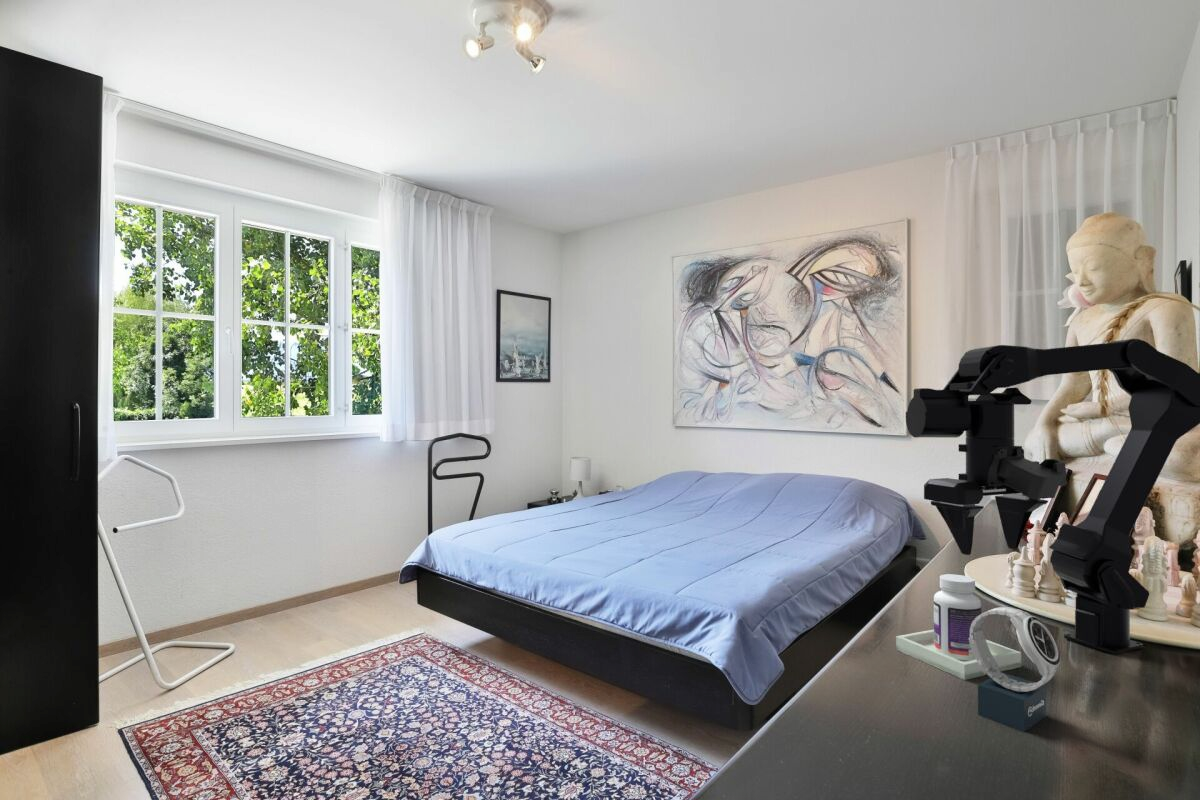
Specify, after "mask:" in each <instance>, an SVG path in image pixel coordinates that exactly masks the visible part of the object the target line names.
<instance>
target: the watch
mask: <svg viewBox="0 0 1200 800" xmlns="http://www.w3.org/2000/svg"><path fill="white" fill-rule="evenodd" d="M989 615H1001V616H1007V617H1009V620H1010V622H1011V623H1012V625H1013V626H1014V627H1015V629H1016V635H1017V640H1018V642H1019V644H1020V647H1021V648H1022V650H1023V652H1024V654H1025V656H1027V657H1028V658H1029V659H1030V661H1031V662H1032V663H1033V664H1034V665H1036V667H1037V670H1038V672H1039V674H1040V676H1042V677H1041V679H1040V680H1039V681H1037V682H1034V681H1032V680H1031V681H1030V680H1027V679H1025V678H1021V677H1017V676H1015V675H1011V674H1008V673H1005V672H1003V671H1000V670H999V669H998V668H997V666H998V664H997V663H996V661H995V659H994V658H993V656H992V654H991V652H990V650H989V648H988V645H987V642H986V640H987V639H986V637H985V636H984V633H983V629H981V626H982V625H981V624H983V623H984V621H985V620H986V618H988V616H989ZM969 642H970V646H971V649H972V651H973V654H974V656H975V658H976V660H977V662H978V664H979V666H980V667H981V669H982V671H983V672H984V674H986V675H985V676H988V677H989V678H988V679H986V680H984V681H983V682H980V683H978V685H977V715H979V716H980V717H984V718H987V719H989V720H991V721H994V722H997V723H999V724H1002V725H1004V726H1008V727H1011V728H1014V729H1016V730H1019V731H1021V732H1026V731H1027V730H1029V729H1030V728H1032V726H1034V725H1035V724H1037V723H1039V722H1040V721H1041V720H1043V719H1044V718H1046V717H1047V686H1046V685H1045V684H1047V683H1048V682H1049V681H1050V680H1051V679H1052V678H1053V677H1054V676H1055V674H1056V672H1057V670H1058V667H1059V664H1061V653H1060V649H1059V646H1058V643H1057V641H1056V639H1055V637H1054V635H1053V634H1052V632H1051V630H1050V629H1049V627H1048V626H1047V625H1046V624H1045V623H1044V622H1043V621H1042V620H1041V619H1039V618H1038V617H1036V616H1034V615H1031V614H1029V613H1028V612H1027V611H1023V610H1022V609H1018V608H1015V607H1011V606H1010V607H1009V606H999V607H995V608H992V609H989V610H987V611H985V612H981V615H979V616H977V617H976V618H975V620H974V621H973V622H972V624H971V627H970V637H969Z"/></svg>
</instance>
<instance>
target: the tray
mask: <svg viewBox="0 0 1200 800" xmlns="http://www.w3.org/2000/svg"><path fill="white" fill-rule="evenodd" d="M986 642H987V645H988V648H989V650H990V652H991V654H992V656H993V658H994V659H995V661H996V663H997V664H998V666H997V668H998V669H999V670H1000V671H1001V672H1006V671H1010V670H1014V669H1017V668H1021V667H1022V652H1021V651H1018V650H1015V649H1012V648H1010V647H1008V646H1004V645H1002V644H999V643H997V642H994V641H991V640H988V639H986ZM895 651H897V652H900V653H902V654H904V655H907V656H909V657H911V658H913V659H916V660H918V661H920V662H922V663H925V664H928V665H930V666H931V667H934V668H935V669H936V668H937V669H938V670H941V671H943V672H945V673H947V674H950V675H951V676H954V677H956V678H959V679H960V680H962V681H963V680H964V681H966V680H970V679H974V678H975V679H976V678H979V677H984V676H987V675H986V674H984V672H983V671H982V669H981V667H980V666H979V664H978V662H977V660H971V661H964V660H957V659H955V658H952V657H950V656H947V655H945V654H942V653H940V652H938V651H936V650H935V647H934V628H933V629H929V630H923V631H918V632H913V633H907V634H902V635H896V636H895Z"/></svg>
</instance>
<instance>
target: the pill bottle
mask: <svg viewBox="0 0 1200 800" xmlns="http://www.w3.org/2000/svg"><path fill="white" fill-rule="evenodd" d="M939 588H941V590H938V591H937V592H936V593H935V594H934V596H933V629H934V647H935V650H936V651H938V652H940V653H942V654H945V655H947V656H950V657H952V658H955V659H957V660H964V661H971V660H976V658H975V656H974V654H973V651H972V649H971V646H970V642H969V637H970V627H971V624H972V622H973V621H974V620H975V618H976V617H977V616H979V615H981V614H982V601H981V600H980V598H979V597H978V596H977V595H975V594H973V593H974V592H975V591H976V580H975V579H974V578H973V577H970V576H967V575H963V574H952V573H947V574H946V573H944V574H941V575H940V576H939ZM982 624H983V623H982ZM982 624H981V625H982ZM981 629H982V626H981ZM982 630H983V629H982Z"/></svg>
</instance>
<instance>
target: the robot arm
mask: <svg viewBox="0 0 1200 800" xmlns="http://www.w3.org/2000/svg"><path fill="white" fill-rule="evenodd" d="M1102 370H1108V371H1110V372H1111V373H1112V375H1113V377H1114V379H1115V380H1116V381H1115V382H1117V384H1118V387H1119V388H1120V389H1122V390H1123V391H1124V392H1125V393H1126V394H1128V395H1129V396H1130V397H1131V398H1130V401H1129V405H1128V414H1129V418H1130V424H1131V427H1130V431H1129V432H1128V434H1127V436H1126V438H1125V440H1124V442H1123V443H1122V446H1121V447H1120V450H1119V452H1118V454H1117V455H1116V458H1115V460H1114V462H1113V464H1112V466H1111V468H1110V470H1109V472H1108V473H1107V476H1106V478H1105V480H1104V482H1103V485H1102V487H1100V488H1101V489H1100V490H1099V492H1098V494H1097V497H1096V499H1095V500H1094V502H1093V505H1092V506H1091V508H1090V509H1089V513H1088V515H1087V516H1086V518H1084V519H1083V520H1082V521H1080V522H1079V523H1078V524H1076V525H1073V524H1070V523H1067V522H1066V523H1063V524H1061V525H1060V527H1059V530H1058V532H1057V533H1058V534H1057V536H1056V539H1055V540H1054V542H1053V543H1052V544H1050V546H1049V547H1048V548H1049V549H1050V550H1052V551H1051V555H1050V557H1049V558H1050V559H1049V561H1050V562H1049V563H1050V564H1051V565H1052V568H1053V571H1054V572H1055V574H1056V575H1057V576H1058V577H1059V579H1060V582H1061V584H1062V587H1063V589H1064V590H1066V591H1070V592H1073V593H1075V594H1076V596H1075V609H1074V631H1073V632H1067V633H1064V634H1063V638H1064V639H1067V640H1068V641H1073V642H1076V643H1078V644H1082V645H1085V646H1087V647H1091V648H1094V649H1097V650H1100V651H1104V652H1106V653H1109V654H1114V655H1117V654H1121V653H1126V652H1130V651H1134V650H1138V649H1142V647H1143V648H1144V644H1143V643H1141V642H1139V641H1135V640H1132V639H1131V638H1130V637H1131V630H1130V629H1131V626H1130V625H1131V623H1130V621H1131V620H1130V618H1131V616H1130V615H1131V612H1130V610H1134V609H1138V608H1139V609H1144V608H1145V607H1146V605H1147V602H1148V600H1149V596H1150V591H1148V590H1147V589H1146V587H1144V586H1143V585H1142V584H1141V582H1139V581H1138V580H1137V579H1136V578H1135V577H1134V576H1133V574H1131V573H1130V570H1131V566H1132V563H1133V559H1134V556H1133V549H1132V544H1131V538H1130V535H1131V532H1132V530H1133V528H1134V526H1135V525H1136V522H1137V520H1138V518H1139V516H1140V515H1141V512H1142V510H1143V508H1144V506H1145V504H1146V502H1147V500H1148V498H1149V496H1150V495H1151V493H1152V490H1153V488H1154V487H1155V485H1156V483H1157V481H1158V478H1159V476H1160V474H1161V472H1162V470H1163V469H1164V466H1165V464H1166V462H1167V460H1168V458H1169V456H1170V454H1171V452H1172V450H1173V448H1174V446H1175V444H1176V443H1177V442H1178V440H1179V439H1180V438H1182V437H1183V436H1184V435H1186V434H1188V433H1189V432H1190V431H1192V430H1193V429H1195V428H1197V427H1198V426H1199V425H1200V372H1198V371H1196V370H1195V369H1194V368H1193V367H1192V366H1190V365H1189V364H1187V363H1185V362H1183V361H1181V360H1178V359H1176V358H1174V357H1172V356H1169V355H1168V354H1165V353H1164V352H1161V351H1159V350H1158V349H1156V348H1155V347H1154V346H1153V345H1151V344H1150V343H1149V342H1147V341H1146V340H1142V339H1140V338H1128V339H1119V340H1113V341H1112V340H1111V341H1108V342H1105V343H1095V344H1084V345H1075V346H1074V345H1073V346H1063V347H1054V348H1034V347H1029V346H1022V345H1020V346H1019V345H1007V344H999V345H992V346H991V345H990V346H985V347H978V348H974V349H970V350H967V351H966V352H965V353H964V354H963V355H962V356H961V358H960V360H959V363H958V369H957V370H956V372H955V373H954V374H953V376H951V378H950V380H949V381H948V382H947V384H946V385H945V386H944V387H943V389H934V388H928V387H926V388H925V387H924V388H921V387H920V388H914V389H913V397H912V398H911V399H910V402H909V404H908V406H907V411H906V412H905V423H906V427H907V431H908V433H909V434H910V435H911V436H912V437H913V438H936V439H937V438H938V439H939V438H940V439H941V438H944V439H945V438H952V439H953V438H960V437H961V436H962V435H963V434H964V432H965V443H963V444H961V443H960V444H958V452H961V453H965V472H964V473H963V472H962V473H958V479H957V478H949V477H946V478H943V477H942V478H929V479H928V480H927V481H926V482H925V483H924V484H923V499H924V500H927V501H930V504H931V506H933V507H935V508H936V510H938V513H939V514H940V516H941V517H942V519H943V521H944V523H946V526H947V528H948V530H949V531H950V534H951V535H952V537H953V539H954V541H955V543H956V545H957V547H958V549H959V551H960V553H961V554H962V555H964V556H965V555H966V556H970V555H971V554H972V549H973V543H974V542H973V540H974V530H975V518H976V516H977V515H978V514H979V513H980V512H981V511H982V510H983V509H984V508H985V506H984V505H983V506H982V505H979V504H980V503H981V501H982V500H983V498H984V497H986V496H987V497H988V496H994V499H995V502H996V503H995V504H996V507H997V510H998V515H999V519H1000V524H1001V528H1002V532H1003V535H1004V539H1005V542H1006V546H1007V548H1008V549H1011V550H1017V549H1018V548H1019V545H1020V543H1021V540H1022V538H1023V535H1024V532H1025V530H1026V527H1027V525H1028V522H1029V520H1030V517H1032V516H1031V515H1032V514H1033V512H1034V511H1036V510H1037V509H1039V508H1040V507H1042V506H1043V505H1047V504H1048V503H1049V500H1047V499H1054V498H1056V494H1057V492H1058V489H1059V487H1062V486H1063V487H1065V486H1067V485H1068V480H1067V468H1066V462H1065V461H1062V460H1059V459H1057V458H1045V459H1044V460H1043V461H1042V462H1040V461H1037V460H1035V461H1034V460H1033V461H1032V460H1029V459H1027V458H1026V457H1025V450H1024V448H1023V446H1022V445H1015V406H1017V405H1018V406H1019V405H1026V406H1027V405H1031V403H1032V399H1030V398H1029V397H1028V396H1027V395H1025V394H1024V393H1022V391H1020V389H1019V387H1014V386H1017V385H1020V384H1025V383H1028V382H1031V381H1033V380H1035V379H1037V378H1042V377H1046V376H1052V375H1062V374H1064V375H1065V374H1072V373H1074V374H1075V373H1081V372H1082V373H1083V372H1093V371H1102ZM1004 388H1005V389H1004ZM997 389H1004V390H1003V391H1001V392H994V391H995V390H997ZM969 396H977V398H976V399H975V400H969Z"/></svg>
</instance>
